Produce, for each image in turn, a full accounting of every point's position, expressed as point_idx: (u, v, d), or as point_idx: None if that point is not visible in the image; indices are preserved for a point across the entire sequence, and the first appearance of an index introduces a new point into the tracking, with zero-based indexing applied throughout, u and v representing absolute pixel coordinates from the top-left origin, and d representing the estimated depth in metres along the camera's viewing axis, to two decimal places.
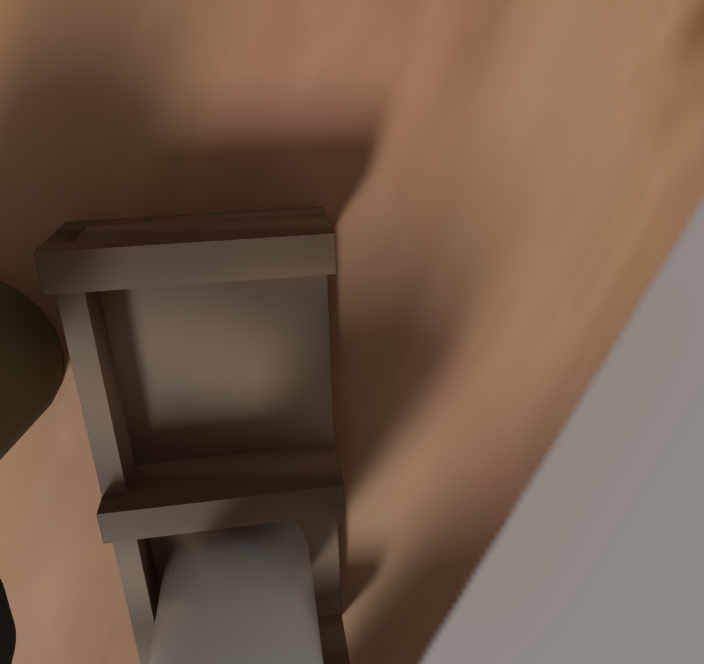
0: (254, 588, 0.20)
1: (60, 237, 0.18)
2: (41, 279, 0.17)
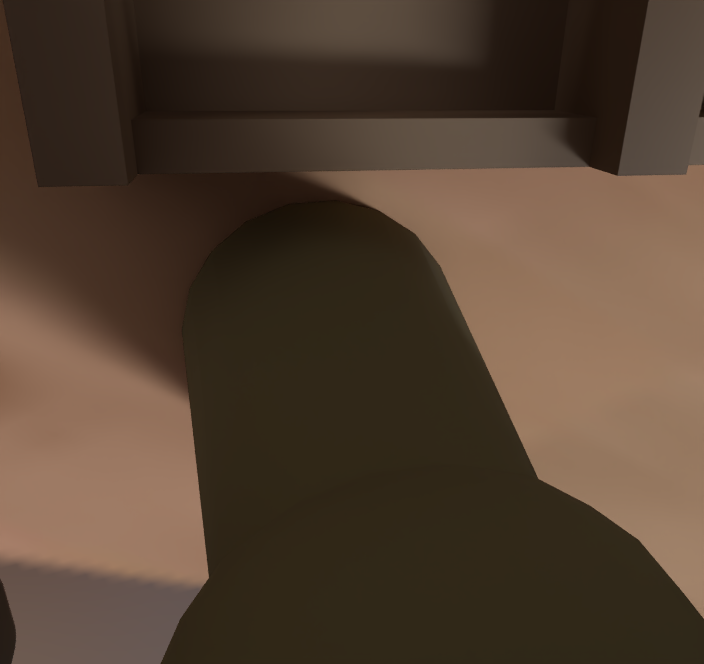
0: None
1: None
2: (99, 184, 0.09)
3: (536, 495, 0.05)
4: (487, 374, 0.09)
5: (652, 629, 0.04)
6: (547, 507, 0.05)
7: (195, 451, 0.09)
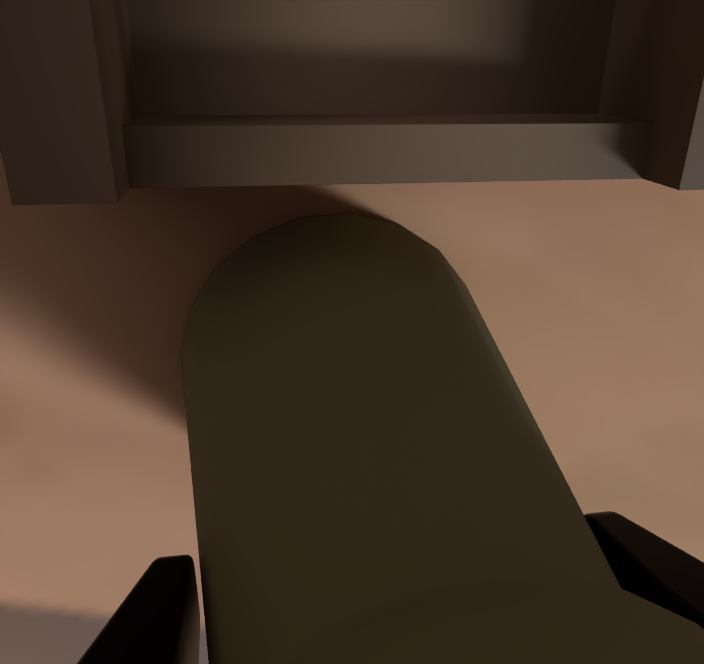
0: None
1: None
2: (84, 202, 0.08)
3: (645, 632, 0.04)
4: (533, 420, 0.08)
5: None
6: (665, 655, 0.04)
7: (195, 509, 0.08)
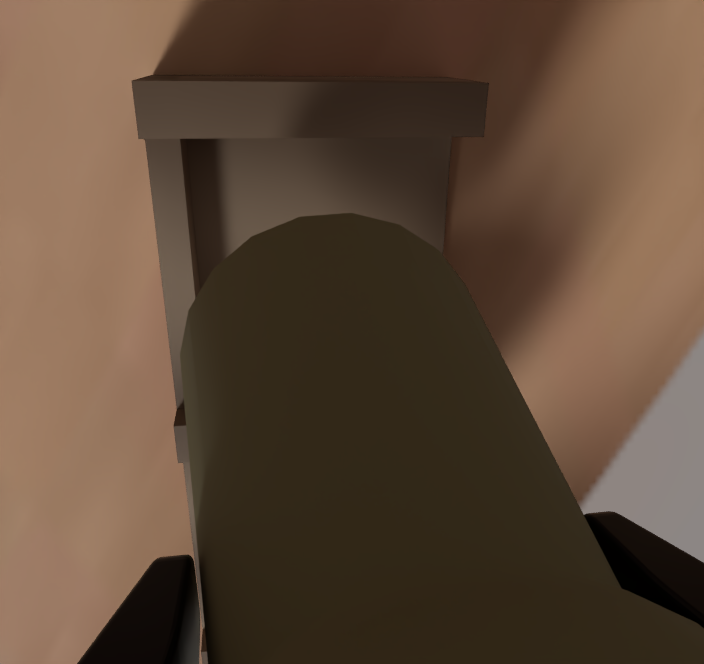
0: None
1: (155, 77, 0.15)
2: (136, 119, 0.14)
3: (645, 631, 0.04)
4: (532, 420, 0.08)
5: None
6: (665, 655, 0.04)
7: (194, 508, 0.08)
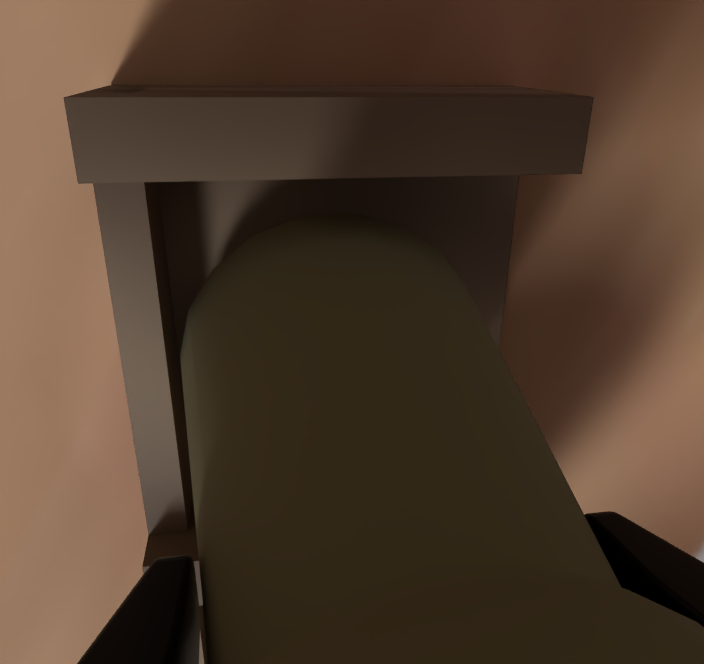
0: None
1: (106, 91, 0.10)
2: (74, 154, 0.09)
3: (646, 631, 0.04)
4: (532, 419, 0.08)
5: None
6: (666, 654, 0.04)
7: (194, 508, 0.08)
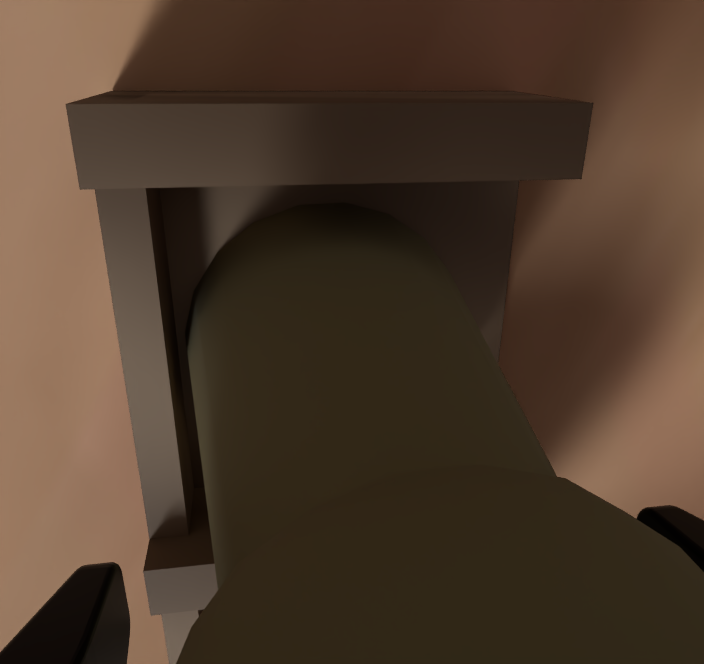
0: None
1: (108, 97, 0.10)
2: (76, 160, 0.09)
3: (574, 497, 0.05)
4: (503, 378, 0.09)
5: None
6: (587, 510, 0.05)
7: None
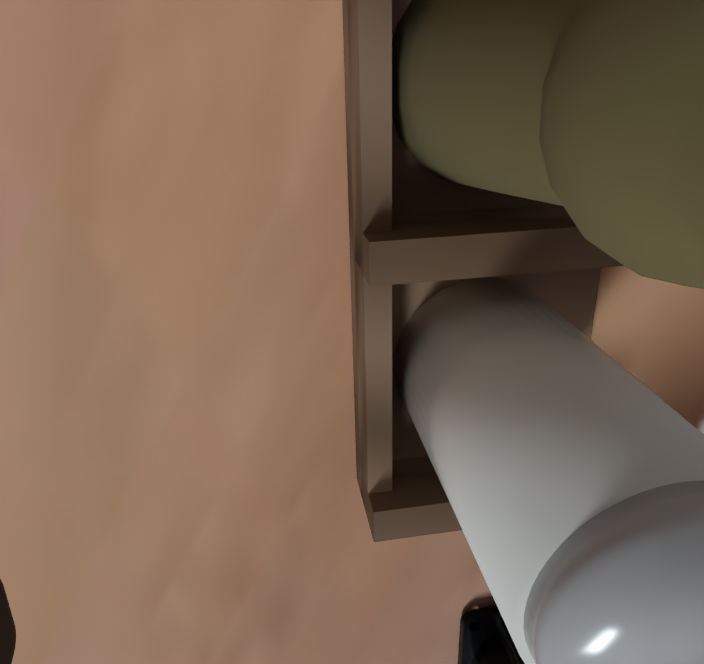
0: (569, 334, 0.16)
1: None
2: None
3: None
4: None
5: None
6: None
7: (461, 74, 0.13)
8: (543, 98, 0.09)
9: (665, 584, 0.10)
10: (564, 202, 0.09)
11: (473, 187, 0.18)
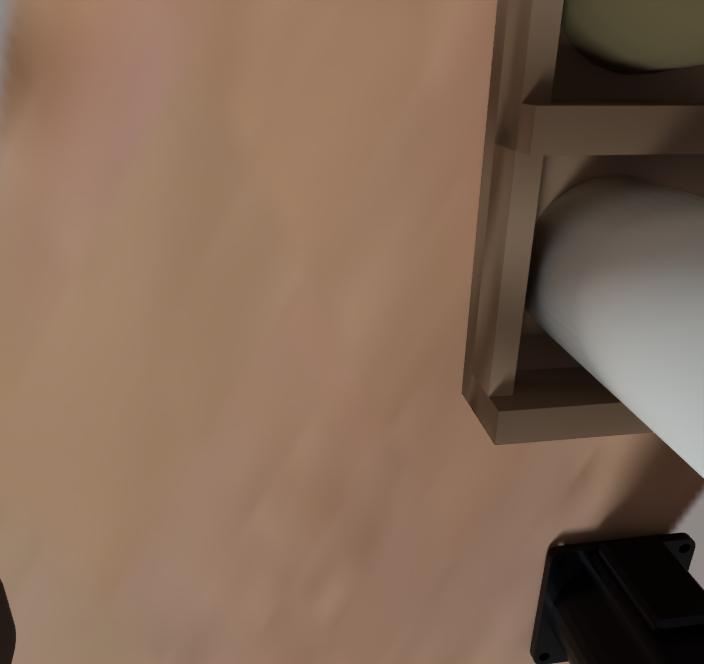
0: None
1: None
2: None
3: None
4: None
5: None
6: None
7: None
8: None
9: None
10: None
11: (622, 73, 0.18)
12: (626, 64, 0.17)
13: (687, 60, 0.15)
